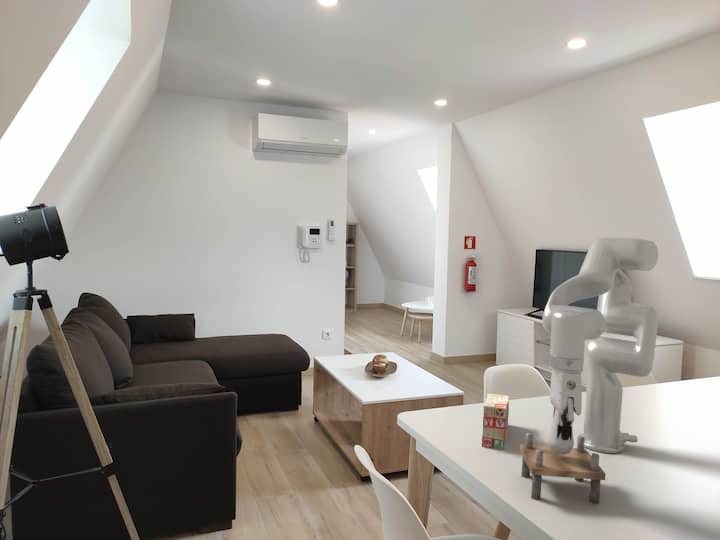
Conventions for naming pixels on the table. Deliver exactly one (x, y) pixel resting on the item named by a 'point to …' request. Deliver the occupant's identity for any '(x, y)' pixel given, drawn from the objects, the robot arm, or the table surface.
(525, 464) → the shelf
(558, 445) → the salt shaker
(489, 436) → the stack of blocks
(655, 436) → the table surface
